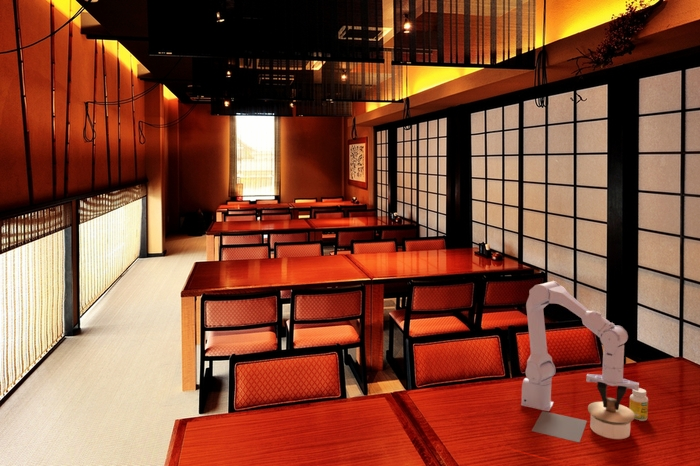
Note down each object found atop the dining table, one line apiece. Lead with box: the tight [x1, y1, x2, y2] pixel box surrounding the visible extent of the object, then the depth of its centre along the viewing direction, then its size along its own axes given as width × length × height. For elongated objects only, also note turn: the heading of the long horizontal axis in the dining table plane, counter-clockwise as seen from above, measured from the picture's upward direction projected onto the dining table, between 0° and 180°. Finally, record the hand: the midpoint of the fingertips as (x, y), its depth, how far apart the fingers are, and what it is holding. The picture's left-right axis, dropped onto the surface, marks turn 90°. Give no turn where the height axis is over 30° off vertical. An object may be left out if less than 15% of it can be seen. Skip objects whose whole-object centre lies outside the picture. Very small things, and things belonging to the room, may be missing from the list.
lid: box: [587, 397, 635, 423], centre depth 162 cm, size 13×13×4 cm
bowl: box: [589, 414, 632, 440], centre depth 163 cm, size 11×11×5 cm
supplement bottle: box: [628, 387, 649, 422], centre depth 172 cm, size 5×5×10 cm
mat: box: [531, 410, 588, 444], centre depth 166 cm, size 14×16×1 cm
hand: (611, 407), depth 162 cm, fingers closed on lid, 3 cm apart
